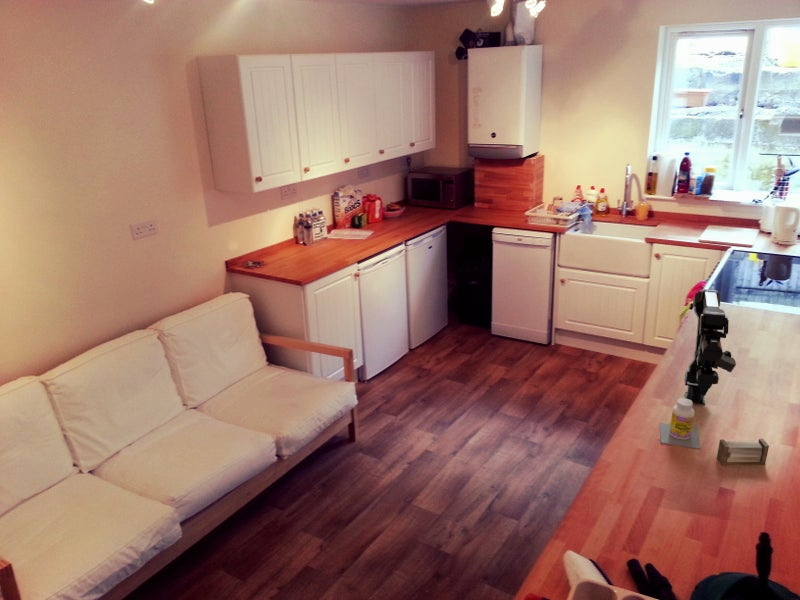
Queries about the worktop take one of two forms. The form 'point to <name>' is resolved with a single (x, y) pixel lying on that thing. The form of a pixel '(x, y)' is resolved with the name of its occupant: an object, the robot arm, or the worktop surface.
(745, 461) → the offcut rack
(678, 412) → the supplement bottle
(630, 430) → the worktop surface
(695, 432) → the slate mat
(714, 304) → the robot arm
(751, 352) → the worktop surface
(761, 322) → the worktop surface
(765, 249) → the worktop surface
